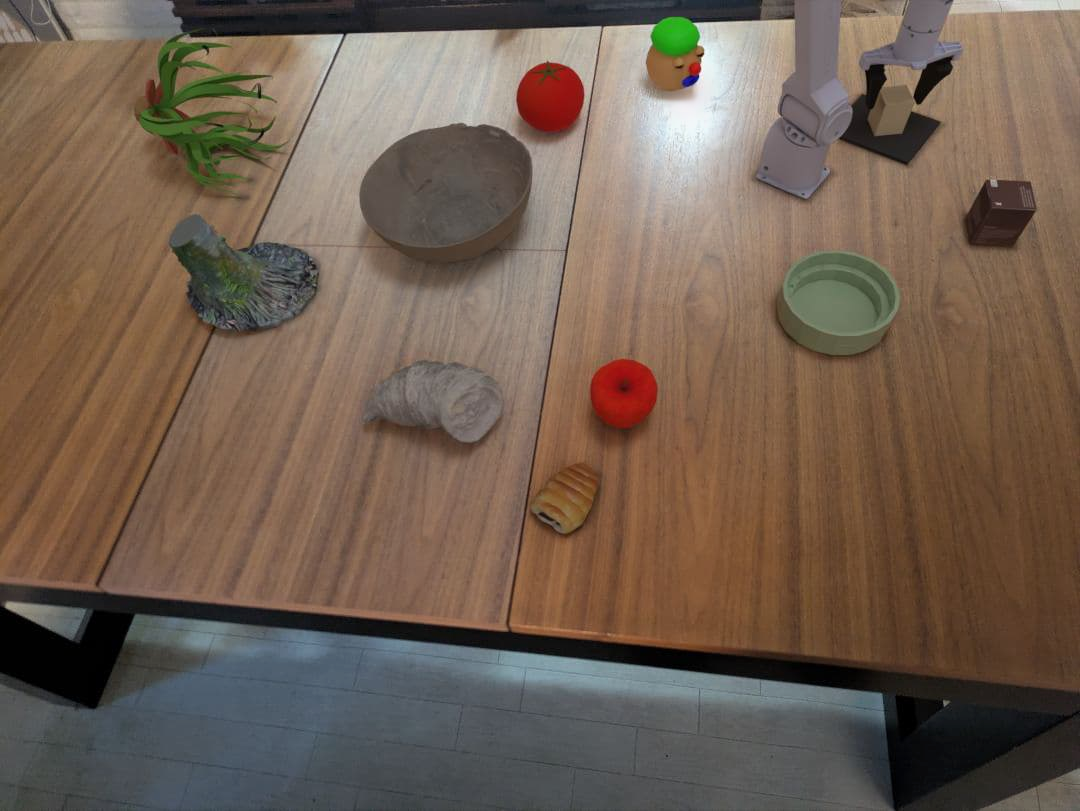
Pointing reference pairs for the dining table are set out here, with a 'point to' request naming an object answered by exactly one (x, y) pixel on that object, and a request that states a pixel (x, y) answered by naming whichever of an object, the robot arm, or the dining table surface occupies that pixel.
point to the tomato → (550, 97)
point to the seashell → (438, 399)
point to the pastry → (567, 498)
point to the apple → (623, 393)
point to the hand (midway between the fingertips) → (892, 103)
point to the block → (891, 110)
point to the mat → (889, 145)
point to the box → (1000, 212)
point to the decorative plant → (178, 124)
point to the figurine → (674, 54)
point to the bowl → (448, 191)
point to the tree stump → (242, 278)
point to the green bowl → (837, 302)
